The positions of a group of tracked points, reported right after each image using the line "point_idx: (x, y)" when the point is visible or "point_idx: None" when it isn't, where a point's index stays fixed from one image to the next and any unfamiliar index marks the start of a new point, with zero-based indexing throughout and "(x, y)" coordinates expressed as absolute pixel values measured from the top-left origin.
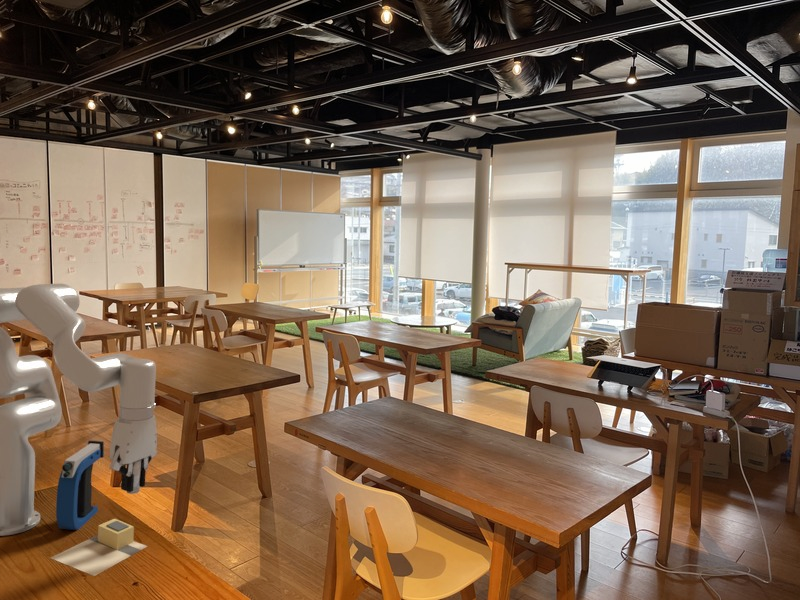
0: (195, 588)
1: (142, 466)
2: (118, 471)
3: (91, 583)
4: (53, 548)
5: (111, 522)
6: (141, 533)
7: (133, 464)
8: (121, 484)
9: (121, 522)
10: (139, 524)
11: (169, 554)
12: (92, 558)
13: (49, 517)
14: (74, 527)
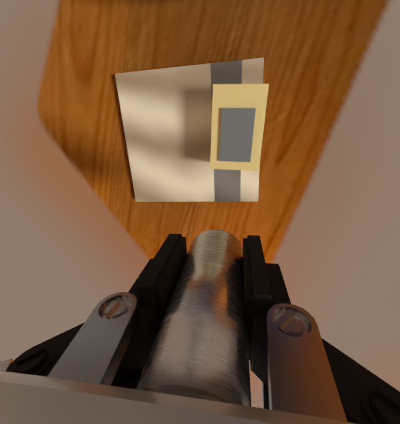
0: None
1: (265, 380)
2: (67, 333)
3: (132, 202)
4: (151, 17)
5: (245, 99)
6: (310, 131)
7: None
8: (146, 265)
9: (259, 123)
10: (350, 84)
11: (266, 241)
12: (165, 150)
13: None
14: None
